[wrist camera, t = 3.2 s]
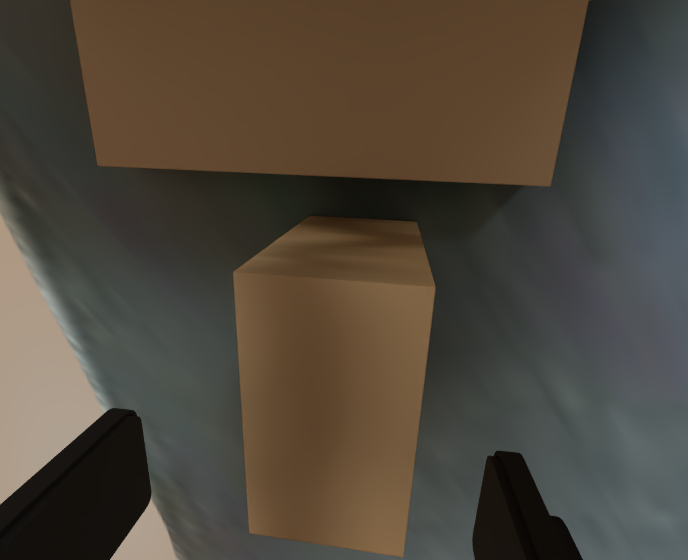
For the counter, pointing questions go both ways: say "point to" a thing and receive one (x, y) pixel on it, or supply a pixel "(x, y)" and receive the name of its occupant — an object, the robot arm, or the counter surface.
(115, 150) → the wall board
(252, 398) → the oak box
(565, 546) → the robot arm
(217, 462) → the counter surface
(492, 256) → the counter surface
